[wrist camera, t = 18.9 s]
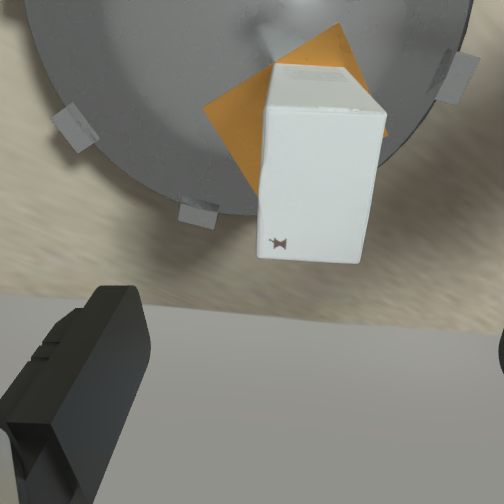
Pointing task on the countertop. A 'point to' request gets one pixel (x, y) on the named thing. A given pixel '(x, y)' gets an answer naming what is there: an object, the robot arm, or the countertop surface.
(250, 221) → the countertop surface
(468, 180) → the countertop surface
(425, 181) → the countertop surface
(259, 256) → the skincare box
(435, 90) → the sprocket
